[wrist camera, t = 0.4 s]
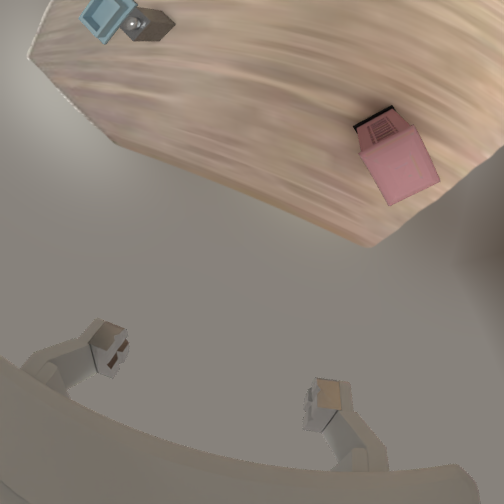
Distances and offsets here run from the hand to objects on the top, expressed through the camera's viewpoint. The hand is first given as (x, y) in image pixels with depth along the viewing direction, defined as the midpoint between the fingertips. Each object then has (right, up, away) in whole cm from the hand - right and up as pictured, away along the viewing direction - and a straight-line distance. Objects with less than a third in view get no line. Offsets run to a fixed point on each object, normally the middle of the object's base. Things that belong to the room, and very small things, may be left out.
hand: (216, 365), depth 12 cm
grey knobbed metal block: (-17, +49, +32) cm, 61 cm away
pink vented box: (+25, +26, +36) cm, 51 cm away
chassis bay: (-30, +57, +30) cm, 71 cm away
